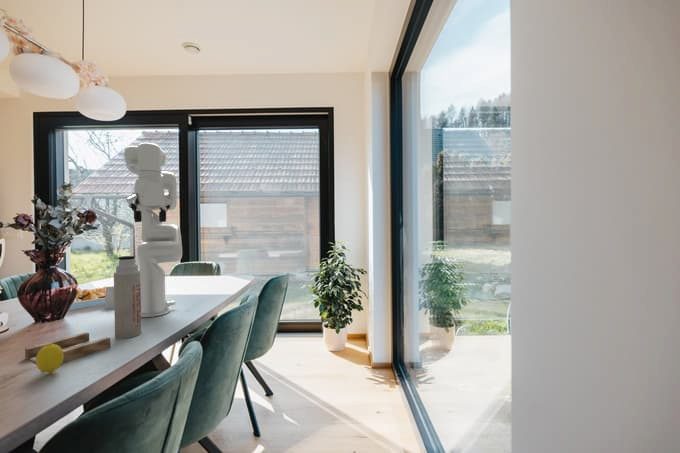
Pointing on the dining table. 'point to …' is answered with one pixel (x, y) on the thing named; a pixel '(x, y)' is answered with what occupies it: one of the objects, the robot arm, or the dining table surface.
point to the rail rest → (72, 347)
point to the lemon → (49, 358)
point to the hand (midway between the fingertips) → (150, 221)
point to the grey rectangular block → (109, 298)
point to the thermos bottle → (127, 298)
